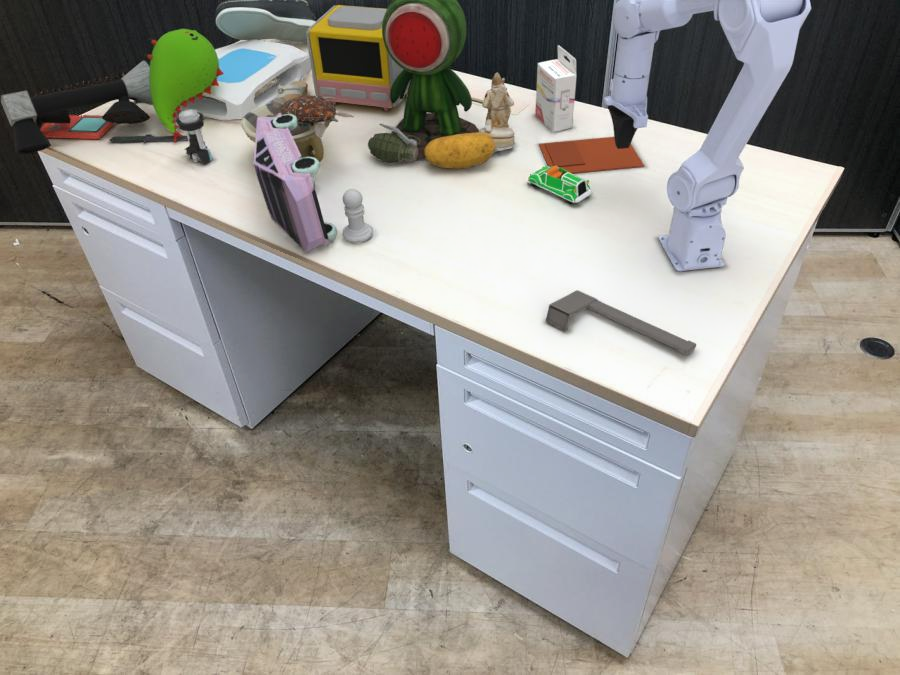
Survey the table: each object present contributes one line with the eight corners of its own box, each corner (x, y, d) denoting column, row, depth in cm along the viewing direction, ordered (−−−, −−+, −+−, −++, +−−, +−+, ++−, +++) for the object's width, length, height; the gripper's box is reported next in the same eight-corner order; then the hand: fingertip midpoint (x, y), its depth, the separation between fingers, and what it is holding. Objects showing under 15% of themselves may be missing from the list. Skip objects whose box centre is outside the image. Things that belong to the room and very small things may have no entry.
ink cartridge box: (533, 115, 164) (536, 47, 154) (554, 111, 166) (558, 43, 156) (552, 133, 158) (556, 63, 148) (573, 128, 160) (579, 59, 150)
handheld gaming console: (53, 113, 170) (117, 114, 168) (55, 118, 171) (118, 120, 169) (31, 132, 163) (97, 134, 162) (33, 137, 164) (99, 139, 162)
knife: (107, 141, 160) (111, 134, 162) (108, 145, 161) (112, 138, 163) (193, 138, 160) (196, 131, 162) (194, 142, 161) (197, 135, 163)
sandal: (260, 120, 167) (256, 98, 163) (288, 89, 178) (284, 68, 175) (289, 122, 166) (285, 100, 162) (315, 91, 177) (311, 69, 173)
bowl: (358, 154, 154) (352, 109, 148) (291, 193, 144) (282, 147, 138) (298, 129, 163) (291, 86, 156) (231, 164, 153) (220, 120, 146)
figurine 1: (376, 155, 154) (358, -1, 134) (410, 112, 168) (399, -35, 148) (457, 165, 149) (452, 6, 129) (485, 120, 163) (485, -30, 143)
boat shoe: (208, 34, 177) (194, -1, 178) (300, 52, 202) (288, 21, 202) (237, 6, 171) (223, -30, 171) (328, 28, 195) (316, -4, 196)
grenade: (376, 114, 151) (424, 125, 149) (375, 148, 156) (421, 159, 154) (363, 126, 146) (412, 137, 144) (362, 161, 151) (410, 173, 149)
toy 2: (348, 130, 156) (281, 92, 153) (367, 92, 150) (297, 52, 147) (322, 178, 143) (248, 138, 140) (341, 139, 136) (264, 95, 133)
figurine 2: (506, 145, 159) (508, 69, 152) (520, 152, 153) (523, 73, 146) (473, 147, 157) (474, 70, 150) (485, 154, 151) (487, 74, 144)
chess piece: (362, 246, 131) (356, 202, 125) (336, 238, 133) (329, 194, 127) (379, 230, 134) (374, 186, 128) (354, 223, 136) (347, 178, 130)
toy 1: (168, 29, 164) (238, 47, 165) (146, 137, 166) (215, 154, 168) (148, 10, 151) (223, 30, 152) (124, 127, 154) (199, 146, 155)
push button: (177, 160, 155) (163, 114, 148) (196, 149, 158) (184, 103, 152) (201, 168, 152) (187, 122, 146) (220, 157, 156) (208, 111, 149)
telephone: (155, 132, 175) (14, 164, 161) (134, 77, 173) (-11, 105, 159) (168, 113, 162) (16, 147, 148) (145, 54, 160) (-11, 82, 146)
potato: (497, 172, 147) (493, 140, 142) (426, 179, 148) (420, 148, 144) (496, 152, 152) (493, 120, 148) (428, 158, 154) (423, 128, 149)
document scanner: (167, 109, 172) (159, 82, 168) (242, 60, 190) (237, 35, 186) (243, 125, 165) (237, 98, 161) (314, 73, 183) (310, 47, 179)
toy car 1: (344, 247, 131) (288, 265, 129) (310, 176, 148) (260, 190, 146) (326, 174, 120) (264, 192, 119) (291, 106, 138) (237, 121, 136)
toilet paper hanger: (691, 359, 111) (697, 342, 109) (665, 380, 105) (671, 362, 104) (575, 305, 121) (578, 289, 120) (545, 321, 115) (549, 304, 114)
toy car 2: (593, 197, 140) (596, 176, 137) (576, 209, 138) (578, 188, 135) (543, 174, 147) (544, 154, 144) (525, 185, 144) (526, 164, 141)
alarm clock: (314, 107, 170) (300, 24, 158) (342, 77, 181) (331, -3, 169) (397, 117, 166) (390, 31, 153) (420, 85, 177) (415, 3, 164)
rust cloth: (644, 166, 148) (644, 164, 147) (552, 175, 146) (552, 172, 146) (625, 136, 156) (626, 134, 156) (538, 144, 155) (539, 142, 155)
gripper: (596, 55, 131) (588, 129, 140) (621, 93, 120) (611, 169, 129) (636, 52, 131) (626, 125, 140) (665, 89, 121) (652, 165, 130)
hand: (622, 146), depth 135 cm, fingers closed
